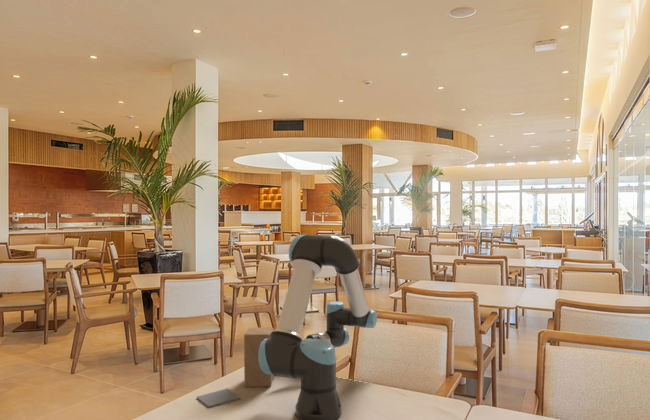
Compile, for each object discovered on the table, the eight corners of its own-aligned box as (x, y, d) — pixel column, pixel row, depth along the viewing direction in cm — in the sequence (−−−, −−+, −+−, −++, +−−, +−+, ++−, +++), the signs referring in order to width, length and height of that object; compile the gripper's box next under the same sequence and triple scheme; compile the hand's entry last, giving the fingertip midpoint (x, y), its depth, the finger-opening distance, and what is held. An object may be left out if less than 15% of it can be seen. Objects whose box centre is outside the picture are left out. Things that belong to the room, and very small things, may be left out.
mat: (240, 398, 166) (240, 397, 166) (208, 408, 159) (208, 406, 159) (227, 389, 174) (227, 388, 174) (196, 398, 166) (196, 396, 166)
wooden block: (270, 387, 176) (270, 334, 175) (244, 387, 176) (243, 334, 176) (274, 377, 186) (273, 327, 185) (249, 377, 186) (248, 327, 186)
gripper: (335, 359, 189) (291, 371, 176) (300, 344, 208) (258, 353, 195) (335, 340, 188) (291, 351, 175) (300, 327, 208) (258, 336, 195)
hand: (274, 352), depth 185 cm, fingers open, 13 cm apart
